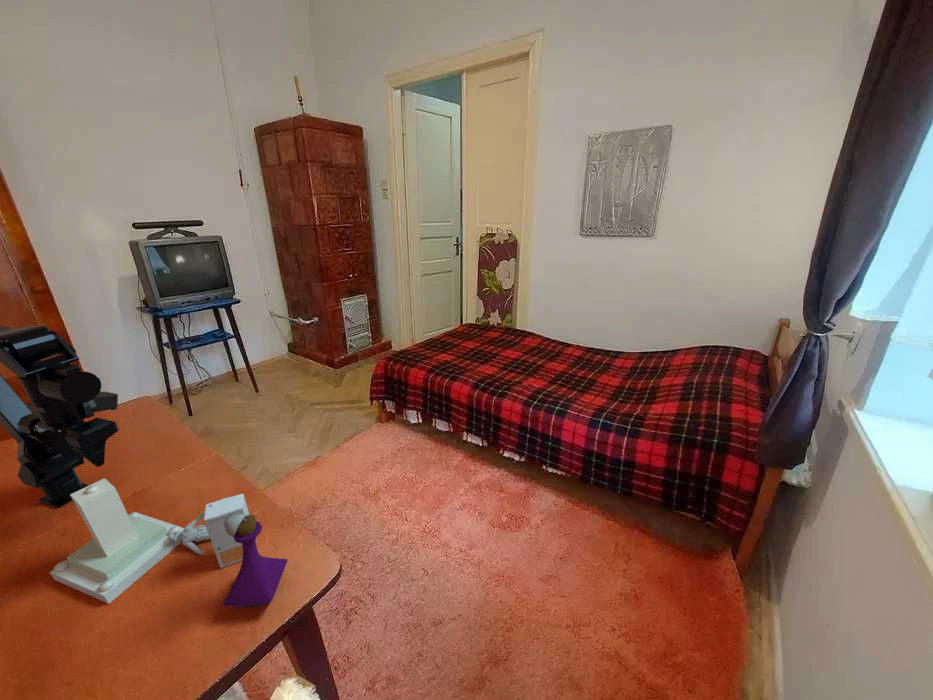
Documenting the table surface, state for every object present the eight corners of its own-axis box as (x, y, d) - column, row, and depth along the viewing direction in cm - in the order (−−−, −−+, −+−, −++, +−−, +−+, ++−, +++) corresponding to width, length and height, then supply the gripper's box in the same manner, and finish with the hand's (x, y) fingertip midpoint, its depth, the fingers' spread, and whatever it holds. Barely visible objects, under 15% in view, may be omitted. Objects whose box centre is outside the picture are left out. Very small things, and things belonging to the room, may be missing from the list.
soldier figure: (242, 548, 73) (164, 561, 67) (239, 548, 77) (165, 561, 70) (245, 505, 76) (171, 513, 70) (242, 508, 80) (171, 516, 73)
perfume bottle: (248, 575, 67) (222, 498, 60) (291, 571, 68) (270, 495, 61) (227, 618, 60) (195, 537, 53) (275, 614, 61) (250, 533, 54)
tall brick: (97, 545, 68) (68, 491, 63) (128, 527, 72) (103, 475, 67) (107, 556, 66) (78, 502, 61) (138, 537, 70) (113, 484, 65)
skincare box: (220, 569, 68) (202, 520, 64) (221, 551, 72) (204, 503, 67) (257, 555, 71) (242, 507, 66) (257, 538, 74) (243, 492, 70)
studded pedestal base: (54, 579, 66) (44, 564, 65) (138, 519, 79) (132, 504, 77) (108, 603, 63) (99, 587, 61) (188, 536, 75) (182, 521, 73)
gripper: (133, 381, 75) (159, 445, 81) (72, 369, 80) (100, 430, 86) (63, 410, 65) (98, 481, 71) (-1, 394, 70) (36, 461, 76)
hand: (85, 461), depth 76 cm, fingers open, 9 cm apart
